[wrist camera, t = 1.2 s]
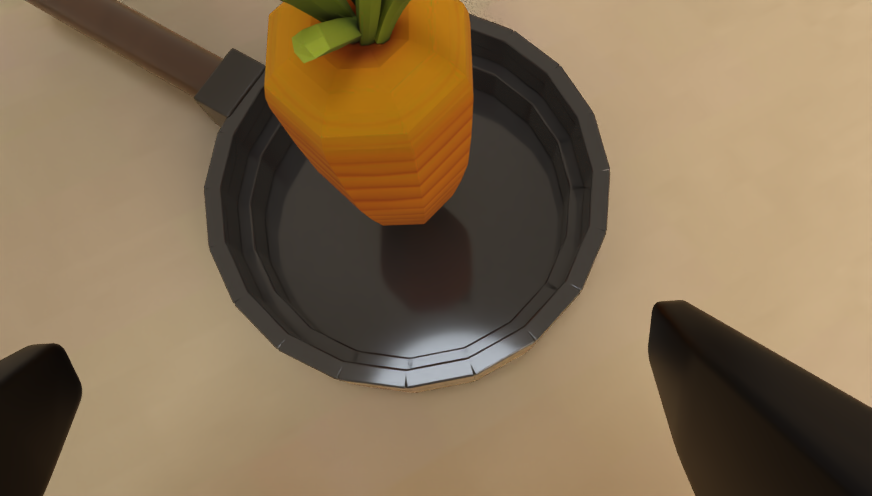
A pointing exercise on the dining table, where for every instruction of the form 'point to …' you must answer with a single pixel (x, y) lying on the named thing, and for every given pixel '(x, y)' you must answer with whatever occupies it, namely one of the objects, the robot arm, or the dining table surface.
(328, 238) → the pan
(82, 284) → the dining table surface
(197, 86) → the pan handle
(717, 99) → the dining table surface
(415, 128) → the carrot
